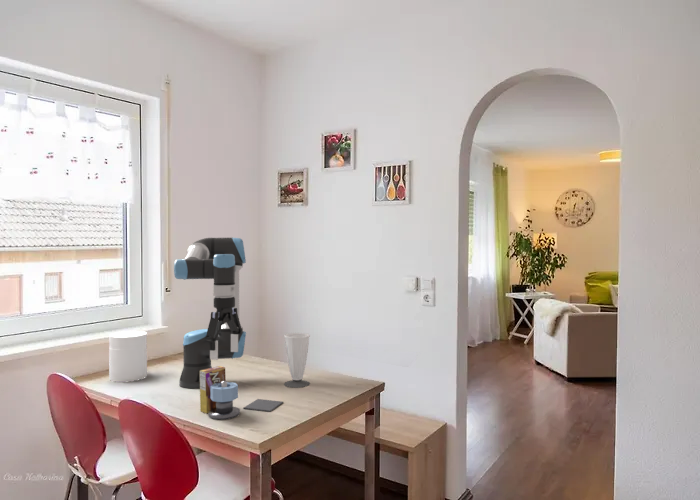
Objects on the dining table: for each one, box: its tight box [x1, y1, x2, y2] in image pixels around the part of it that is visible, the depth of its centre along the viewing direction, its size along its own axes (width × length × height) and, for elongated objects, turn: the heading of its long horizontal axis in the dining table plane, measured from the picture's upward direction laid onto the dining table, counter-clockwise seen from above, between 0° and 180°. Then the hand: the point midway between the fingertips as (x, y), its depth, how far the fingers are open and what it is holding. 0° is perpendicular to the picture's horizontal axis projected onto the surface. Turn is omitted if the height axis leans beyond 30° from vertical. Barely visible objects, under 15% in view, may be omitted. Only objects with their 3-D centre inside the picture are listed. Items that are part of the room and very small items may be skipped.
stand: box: [208, 380, 241, 421], centre depth 181 cm, size 11×11×12 cm
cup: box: [283, 332, 311, 389], centre depth 220 cm, size 12×12×22 cm
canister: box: [108, 330, 148, 383], centre depth 231 cm, size 16×16×20 cm
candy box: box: [199, 365, 227, 414], centre depth 186 cm, size 9×4×15 cm, turn 140°
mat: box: [243, 398, 284, 413], centre depth 191 cm, size 11×11×1 cm
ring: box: [210, 381, 239, 402], centre depth 181 cm, size 9×9×4 cm
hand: (224, 355), depth 181 cm, fingers open, 13 cm apart
